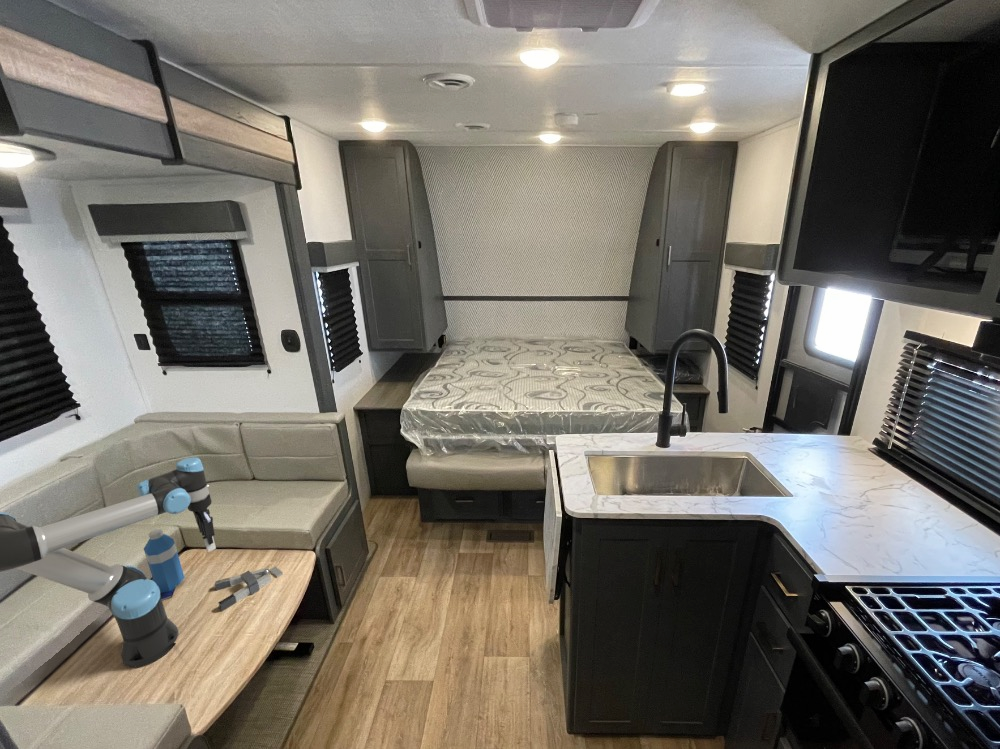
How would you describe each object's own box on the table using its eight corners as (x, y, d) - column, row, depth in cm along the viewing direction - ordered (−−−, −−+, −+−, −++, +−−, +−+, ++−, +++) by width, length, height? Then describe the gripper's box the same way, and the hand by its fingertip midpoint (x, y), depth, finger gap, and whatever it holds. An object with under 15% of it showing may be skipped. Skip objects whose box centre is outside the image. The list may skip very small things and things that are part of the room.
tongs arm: (215, 594, 164) (213, 586, 163) (217, 587, 167) (215, 579, 166) (270, 578, 171) (268, 571, 170) (270, 572, 175) (269, 565, 174)
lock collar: (251, 595, 163) (248, 583, 162) (243, 586, 167) (240, 575, 166) (259, 590, 166) (257, 578, 164) (251, 582, 170) (248, 570, 168)
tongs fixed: (222, 611, 156) (220, 605, 155) (215, 603, 160) (213, 597, 159) (283, 574, 174) (281, 568, 173) (275, 568, 177) (274, 562, 176)
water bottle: (169, 595, 165) (153, 541, 158) (150, 592, 167) (133, 538, 160) (190, 578, 174) (176, 525, 167) (172, 574, 176) (157, 523, 169)
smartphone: (152, 592, 167) (198, 575, 175) (152, 594, 167) (198, 577, 175) (150, 604, 161) (198, 586, 169) (151, 606, 161) (199, 588, 169)
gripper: (216, 498, 160) (229, 550, 166) (202, 487, 167) (215, 538, 174) (193, 507, 154) (207, 561, 161) (179, 496, 161) (194, 548, 168)
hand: (211, 549), depth 167 cm, fingers closed
